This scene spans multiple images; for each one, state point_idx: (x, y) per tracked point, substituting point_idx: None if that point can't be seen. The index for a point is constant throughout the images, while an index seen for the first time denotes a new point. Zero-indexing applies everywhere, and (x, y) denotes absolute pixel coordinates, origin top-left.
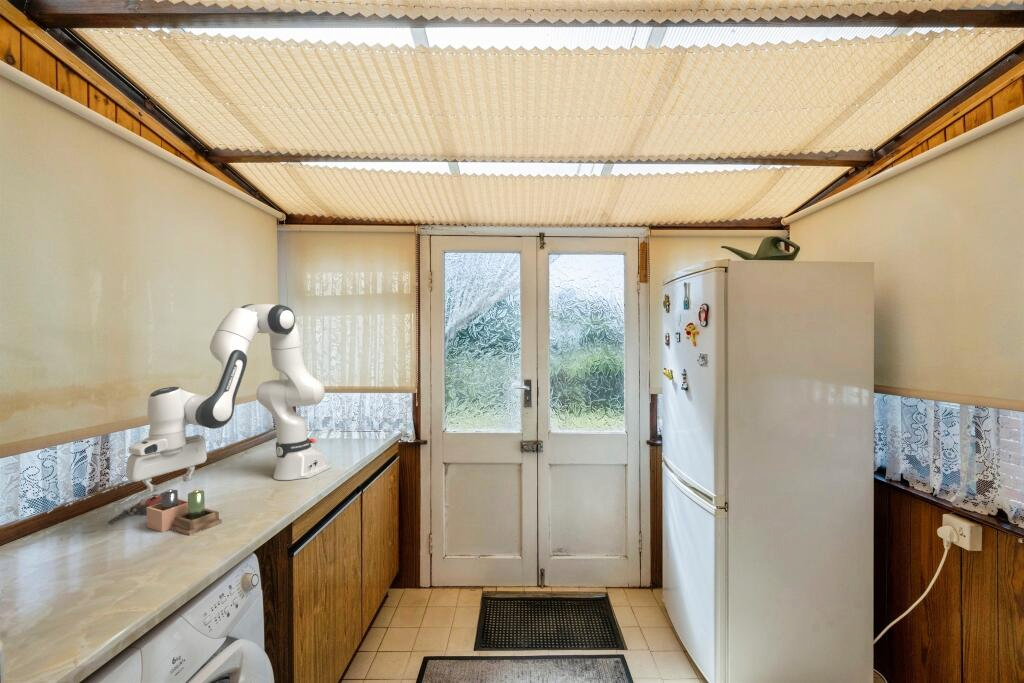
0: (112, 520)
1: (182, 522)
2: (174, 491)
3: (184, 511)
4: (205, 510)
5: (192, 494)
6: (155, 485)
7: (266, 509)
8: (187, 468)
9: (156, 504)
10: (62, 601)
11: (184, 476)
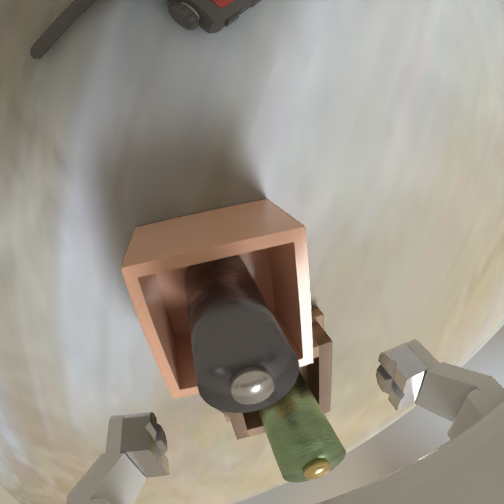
0: (43, 47)
1: None
2: (274, 389)
3: None
4: (319, 376)
5: (294, 476)
6: (163, 475)
7: None
8: (463, 414)
9: (178, 259)
10: (21, 473)
11: (401, 391)
